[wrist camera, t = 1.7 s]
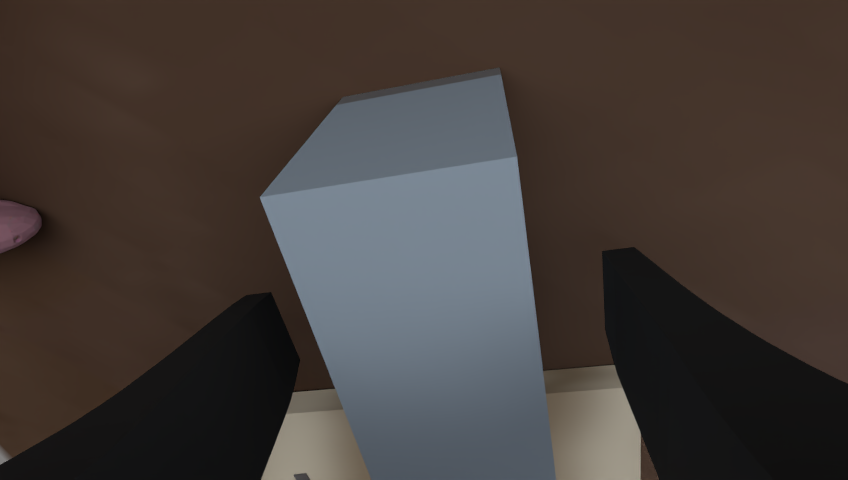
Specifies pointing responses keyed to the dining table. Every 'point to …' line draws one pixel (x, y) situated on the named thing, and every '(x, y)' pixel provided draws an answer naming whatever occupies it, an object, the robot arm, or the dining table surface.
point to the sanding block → (421, 279)
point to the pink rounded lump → (17, 224)
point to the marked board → (568, 417)
